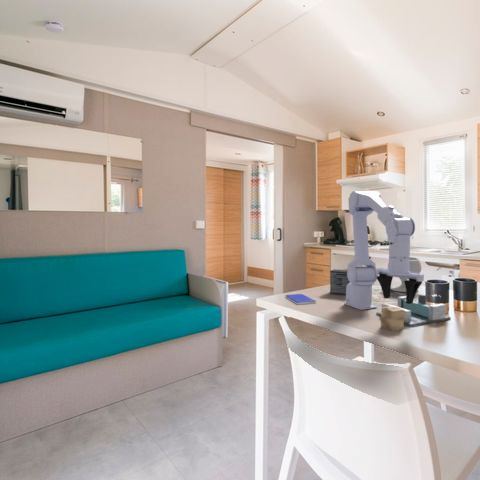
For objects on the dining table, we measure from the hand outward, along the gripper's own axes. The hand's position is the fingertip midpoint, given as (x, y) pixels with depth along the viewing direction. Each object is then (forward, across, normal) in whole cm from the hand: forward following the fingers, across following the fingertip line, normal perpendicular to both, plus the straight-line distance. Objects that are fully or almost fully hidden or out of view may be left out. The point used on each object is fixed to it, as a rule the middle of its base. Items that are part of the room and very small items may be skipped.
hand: (397, 300), depth 101 cm
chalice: (+9, -30, +50) cm, 59 cm away
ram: (+8, -3, +18) cm, 19 cm away
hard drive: (+9, -42, -3) cm, 43 cm away
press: (+9, -4, +14) cm, 17 cm away
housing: (+9, -1, -1) cm, 9 cm away
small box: (+9, -40, +21) cm, 46 cm away
